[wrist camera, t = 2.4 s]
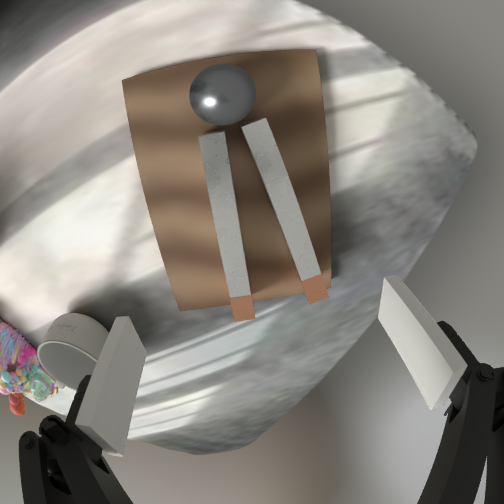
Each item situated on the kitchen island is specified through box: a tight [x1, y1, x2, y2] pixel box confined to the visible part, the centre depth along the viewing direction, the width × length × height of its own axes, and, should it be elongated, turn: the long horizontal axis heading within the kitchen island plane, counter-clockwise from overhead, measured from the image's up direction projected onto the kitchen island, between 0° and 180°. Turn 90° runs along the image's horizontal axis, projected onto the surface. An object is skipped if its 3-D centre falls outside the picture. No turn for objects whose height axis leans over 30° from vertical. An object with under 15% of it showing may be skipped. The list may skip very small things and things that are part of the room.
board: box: [122, 50, 331, 311], centre depth 27 cm, size 26×18×2 cm
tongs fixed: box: [189, 63, 256, 322], centre depth 25 cm, size 24×5×4 cm, turn 8°
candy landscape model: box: [0, 319, 57, 416], centre depth 34 cm, size 25×24×9 cm
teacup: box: [37, 313, 109, 391], centre depth 32 cm, size 14×11×8 cm
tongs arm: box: [239, 117, 329, 304], centre depth 26 cm, size 18×2×4 cm, turn 22°
